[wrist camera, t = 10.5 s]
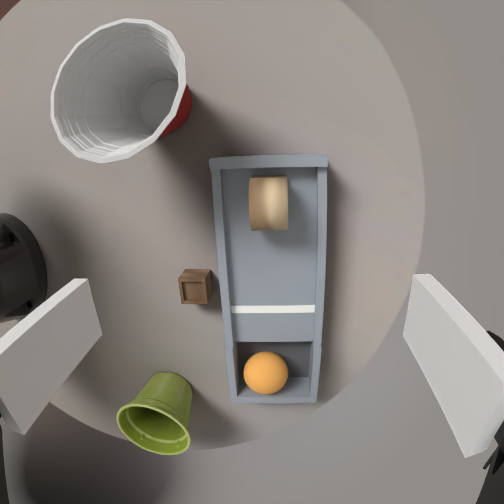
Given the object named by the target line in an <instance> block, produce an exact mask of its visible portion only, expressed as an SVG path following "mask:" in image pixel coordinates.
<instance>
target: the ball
mask: <svg viewBox="0 0 504 504" xmlns="http://www.w3.org/2000/svg"><path fill="white" fill-rule="evenodd" d="M287 377H288V368H287V365H286V363H285V361H284V360H283V359H282V358H281V357H280V356H279V355H277V354H275V353H273V352H268V351H264V352H259V353H256V354H255V355H253V356H252V357H250V358H249V360H248V361H247V362H246V364H245V367H244V379H245V382H246V384H247V385H248V386H249V388H250V389H252V390H253V391H255V392H257V393H260V394H272V393H275V392H277V391H278V390H280V389H281V388H282V387H283V386H284V384H285V383H286V381H287Z"/></svg>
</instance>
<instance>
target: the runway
mask: <svg viewBox="0 0 504 504" xmlns="http://www.w3.org/2000/svg"><path fill="white" fill-rule="evenodd" d="M327 167H328V155H324V154H274V155H246V156H227V157H215V158H210V159H209V169H210V170H211V177H212V193H213V207H214V221H215V235H216V247H217V260H218V271H219V283H220V294H221V305H222V315H223V325H224V335H225V345H226V347H225V356H226V365H227V374H228V382H229V391H230V399H231V402H235V403H316V401H317V392H318V382H319V372H320V362H321V350H322V348H321V340H322V326H323V311H324V293H325V271H326V239H327ZM264 175H286V177H287V187H288V230H266V231H252V230H251V227H250V218H249V180H250V178H252V176H264ZM264 351H268V352H273V353H275V354H277V355H279V356H280V357H281V358H282V359H283V360H284V361H285V363H286V365H287V368H288V377H287V381H286V383H285V384H284V386H283V387H282V388H281V389H280V390H278V391H277V392H275V393H272V394H260V393H257V392H255V391H253V390H252V389H250V388H249V386H248V385H247V384H246V382H245V379H244V367H245V364H246V362H247V361H248V360H249V358H250V357H252V356H253V355H255V354H256V353H259V352H264Z"/></svg>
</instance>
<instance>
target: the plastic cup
mask: <svg viewBox="0 0 504 504" xmlns="http://www.w3.org/2000/svg"><path fill="white" fill-rule="evenodd" d="M191 107H192V99H191V93H190V91H189V88H188V86H187V84H186V72H185V55H184V53H183V52H182V50H181V48H180V46H179V45H178V43H177V41H176V39H175V38H174V36H173V34H172V33H171V32H169V31H168V30H166V29H165V28H163V27H161V26H160V25H158V24H156V23H154V22H153V21H151V20H142V19H127V18H125V19H121V20H118V21H115V22H112V23H109V24H106V25H103V26H100V27H98V28H97V29H95V30H94V31H93V32H91V33H90V34H88V35H87V36H86V37H84V38H83V39H82V40H81V41H79V42H78V43H77V44H76V45H75V46H74V48H73V49H72V50H71V52H70V53H69V54H68V56H67V57H66V58H65V60H64V61H63V63H62V64H61V66H60V67H59V70H58V73H57V76H56V79H55V82H54V85H53V88H52V91H51V120H52V123H53V126H54V128H55V131H56V133H57V136H58V138H59V140H60V142H61V143H62V144H63V145H64V146H65V147H66V148H68V149H69V150H70V151H71V152H72V153H73V154H74V155H75V156H76V157H78V158H82V159H85V160H89V161H93V162H97V163H101V164H102V163H107V162H112V161H117V160H122V159H127V158H130V157H131V156H133V155H134V154H136V153H137V152H139V151H140V150H142V149H143V148H145V147H147V146H148V145H150V144H151V143H153V142H155V141H156V140H157V139H158V138H161V137H163V136H165V135H166V134H168V133H171V132H172V131H174V130H176V129H177V128H179V127H180V126H181V125H182V124H183V123H184V122H185V120H186V119H187V118H188V116H189V113H190V110H191Z"/></svg>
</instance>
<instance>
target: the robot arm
mask: <svg viewBox="0 0 504 504" xmlns="http://www.w3.org/2000/svg"><path fill="white" fill-rule="evenodd" d="M46 289H47V276H46V269H45V264H44V260H43V257H42V254H41V251H40V249H39V247H38V244H37V243H36V241H35V239H34V237H33V235H32V234H31V232H30V231H29V230H28V228H27V227H26V226H25V225H24V224H23V223H22V222H21V221H20V220H19V219H17V218H16V217H14V216H12V215H10V214H6V213H0V323H3V322H6V321H10V320H14V319H18V318H22V317H25V316H26V317H25V318H24V319H23V320H21V321H20V322H19V323H18V324H17V325H16V326H14V327H13V328H12V329H11V330H10V331H8V332H7V333H6V334H5V335H4V336H3V337H2V338H0V418H1V416H2V417H3V419H4V421H5V422H6V423H7V425H8V427H9V428H10V429H12V430H14V431H16V432H18V433H20V434H23V435H25V433H26V432H27V431H28V429H29V428H30V427H31V425H32V424H33V422H34V421H35V420H36V418H37V417H38V416H39V414H40V413H41V412H42V410H43V409H44V408H45V406H46V405H47V404H48V402H49V401H50V400H51V398H52V397H53V396H54V394H55V393H56V392H57V391H58V389H59V388H60V387H61V385H62V384H63V383H64V382H65V380H66V379H67V378H68V376H69V375H70V374H71V373H72V371H73V370H74V369H75V368H76V366H77V365H78V364H79V363H80V361H81V360H82V359H83V358H84V356H85V355H86V354H87V353H88V351H89V350H90V349H91V348H92V347H93V345H94V344H95V343H96V342H97V341H98V339H99V338H100V337H101V336H102V331H101V327H100V324H99V320H98V316H97V313H96V309H95V305H94V301H93V297H92V293H91V289H90V285H89V281H88V279H73V280H72V281H71V282H69V283H68V284H67V285H65V286H64V287H63V288H61V289H60V290H59V291H58V292H56V293H55V294H54V295H52V296H51V297H50V298H49V299H47V300H46V301H45V302H44V303H42V302H43V300H44V298H45V294H46ZM27 315H28V316H27ZM403 337H404V339H405V340H406V342H407V344H408V346H409V348H410V349H411V351H412V353H413V355H414V357H415V358H416V360H417V362H418V364H419V366H420V367H421V369H422V371H423V373H424V375H425V377H426V379H427V381H428V382H429V385H430V387H431V388H432V390H433V392H434V394H435V396H436V398H437V400H438V402H439V404H440V406H441V408H442V410H443V412H444V414H445V416H446V418H447V420H448V423H449V425H450V426H451V429H452V431H453V433H454V435H455V437H456V439H457V442H458V444H459V446H460V448H461V451H462V453H463V455H464V457H465V458H466V457H469V456H472V455H475V454H478V453H481V452H484V451H485V450H486V449H487V448H488V446H489V444H490V443H491V441H492V440H493V438H495V440H496V441H497V443H498V447H497V448H496V450H495V451H494V452H493V454H492V456H491V457H490V458H489V459H488V461H487V462H486V464H485V465H484V467H483V469H486V468H487V467H488V465H489V464H490V467H489V470H488V473H487V476H486V478H485V482H484V484H483V487H482V490H481V492H480V495H479V497H478V500H477V502H476V504H504V341H503V340H502V339H501V338H500V337H499V336H497V335H495V334H494V333H492V332H490V331H485V330H484V329H483V328H482V327H481V326H480V324H479V323H478V322H477V321H476V320H475V319H474V318H473V317H472V316H471V315H470V314H469V313H468V312H467V311H466V310H465V309H464V308H463V307H462V305H461V304H460V303H459V302H458V301H457V300H456V299H455V298H454V297H453V296H452V295H451V294H450V293H449V292H448V291H447V290H446V289H445V288H444V287H443V286H442V285H441V284H440V283H439V282H438V281H437V280H436V279H435V278H434V277H433V276H431V274H419V275H413V280H412V287H411V293H410V299H409V305H408V311H407V316H406V322H405V327H404V331H403ZM0 504H9V499H8V493H7V486H6V478H5V468H4V457H3V443H2V429H1V425H0Z"/></svg>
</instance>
